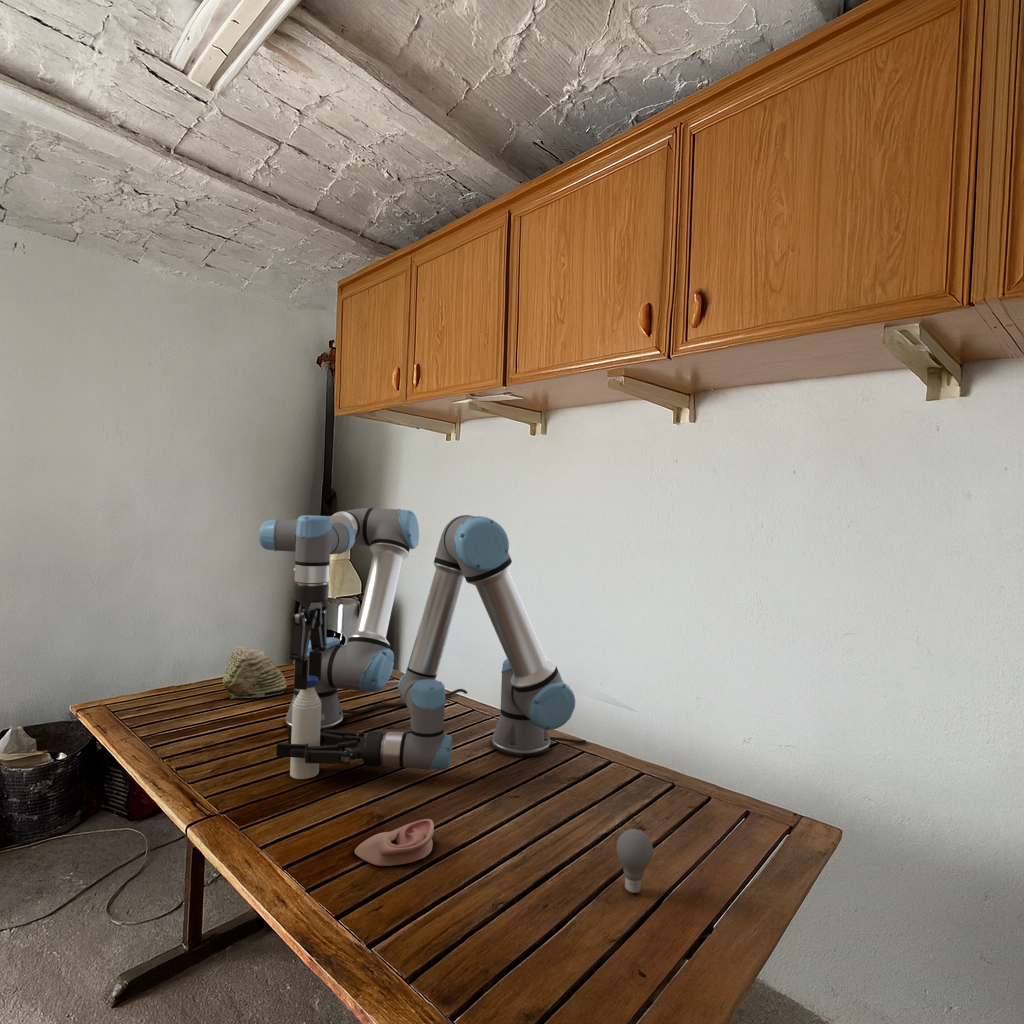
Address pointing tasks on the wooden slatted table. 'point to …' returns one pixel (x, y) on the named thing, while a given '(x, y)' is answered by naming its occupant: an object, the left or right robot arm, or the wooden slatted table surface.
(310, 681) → the cap
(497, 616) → the right robot arm
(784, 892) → the wooden slatted table surface
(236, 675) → the fossil
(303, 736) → the bottle
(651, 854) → the light bulb
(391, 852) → the anatomical model
